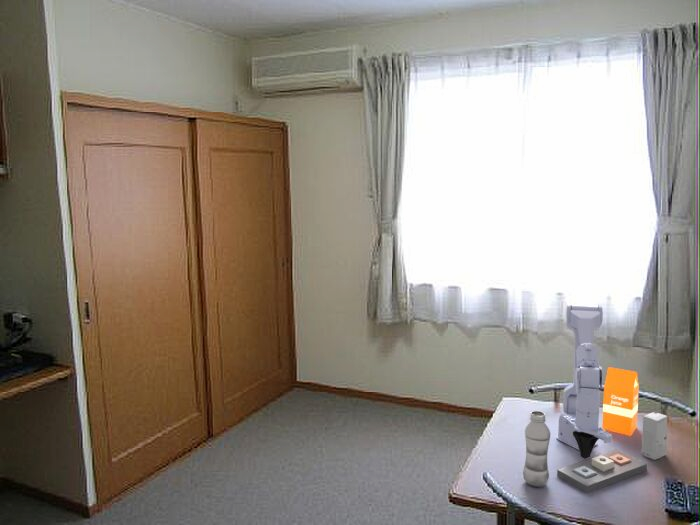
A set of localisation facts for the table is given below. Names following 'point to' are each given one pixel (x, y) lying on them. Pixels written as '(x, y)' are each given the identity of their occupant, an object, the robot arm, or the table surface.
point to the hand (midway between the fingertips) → (585, 457)
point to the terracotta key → (620, 459)
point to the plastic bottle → (536, 450)
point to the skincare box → (654, 435)
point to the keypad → (601, 472)
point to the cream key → (602, 463)
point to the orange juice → (620, 401)
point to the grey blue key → (584, 472)
